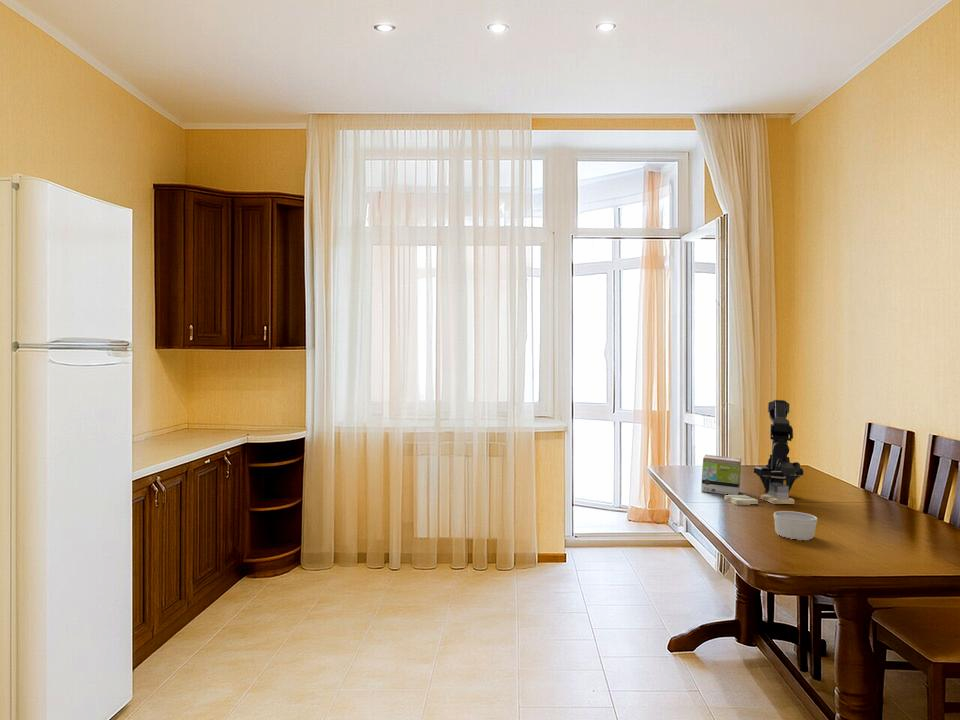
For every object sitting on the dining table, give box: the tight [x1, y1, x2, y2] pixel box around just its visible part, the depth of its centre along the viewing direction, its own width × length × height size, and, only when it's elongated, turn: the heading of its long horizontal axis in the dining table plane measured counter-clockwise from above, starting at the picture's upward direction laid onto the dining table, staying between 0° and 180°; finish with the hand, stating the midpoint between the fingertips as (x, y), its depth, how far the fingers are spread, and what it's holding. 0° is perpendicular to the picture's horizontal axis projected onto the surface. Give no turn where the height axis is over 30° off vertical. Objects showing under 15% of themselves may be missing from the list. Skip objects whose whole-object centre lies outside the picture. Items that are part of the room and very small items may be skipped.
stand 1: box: [724, 494, 759, 506], centre depth 284 cm, size 9×9×2 cm
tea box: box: [700, 454, 742, 495], centre depth 303 cm, size 15×10×15 cm
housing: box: [766, 483, 790, 499], centre depth 287 cm, size 7×5×5 cm
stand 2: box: [760, 494, 795, 505], centre depth 287 cm, size 9×9×2 cm
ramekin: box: [773, 510, 818, 541], centre depth 236 cm, size 13×13×7 cm
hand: (777, 492), depth 287 cm, fingers open, 9 cm apart
